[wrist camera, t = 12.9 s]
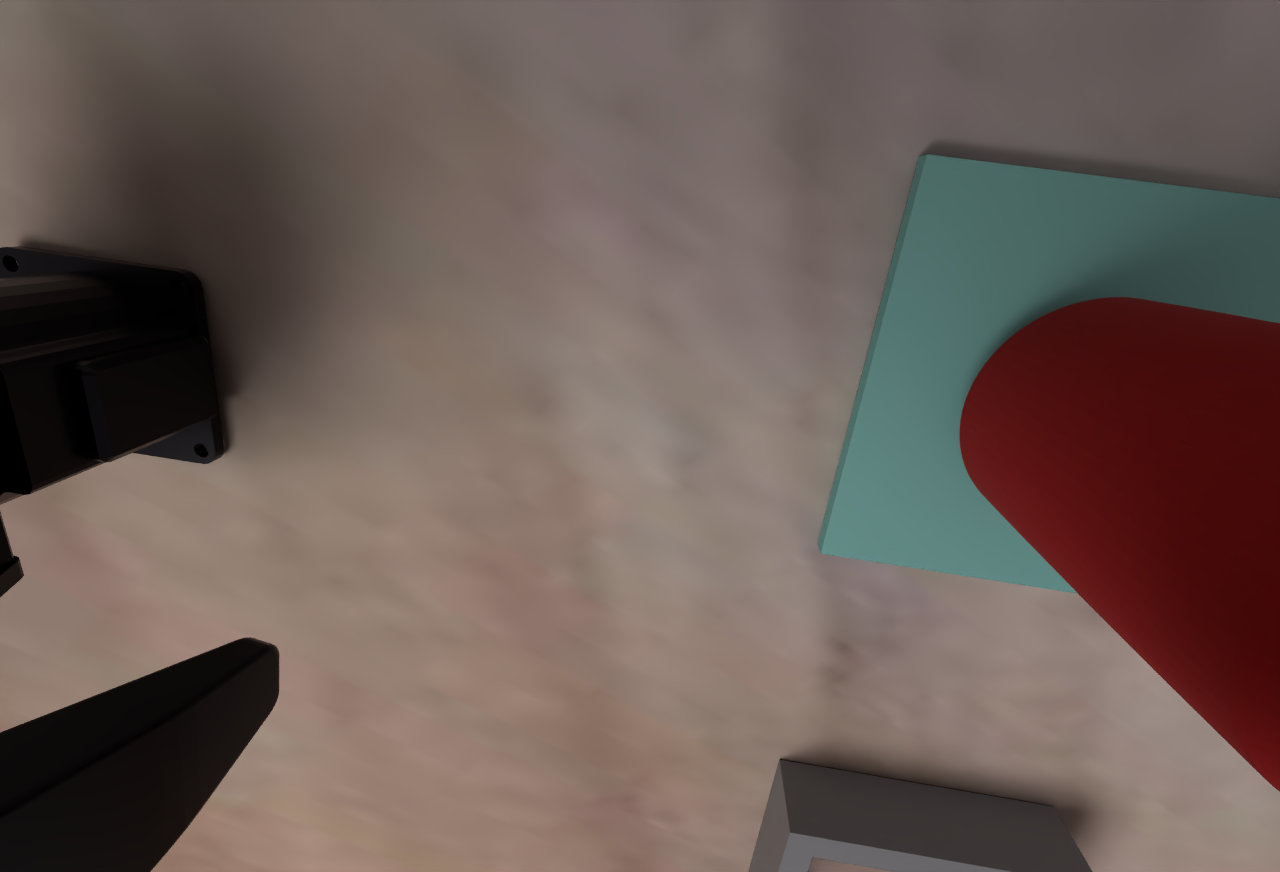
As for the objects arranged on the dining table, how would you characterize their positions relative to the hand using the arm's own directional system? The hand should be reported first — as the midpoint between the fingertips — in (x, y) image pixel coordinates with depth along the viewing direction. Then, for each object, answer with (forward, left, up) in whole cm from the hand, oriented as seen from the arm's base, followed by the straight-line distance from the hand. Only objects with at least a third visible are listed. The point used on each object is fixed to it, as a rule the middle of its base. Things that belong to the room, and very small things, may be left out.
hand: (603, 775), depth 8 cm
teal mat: (+12, +3, -13) cm, 18 cm away
